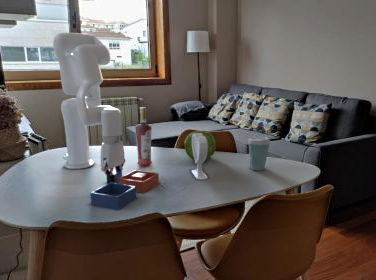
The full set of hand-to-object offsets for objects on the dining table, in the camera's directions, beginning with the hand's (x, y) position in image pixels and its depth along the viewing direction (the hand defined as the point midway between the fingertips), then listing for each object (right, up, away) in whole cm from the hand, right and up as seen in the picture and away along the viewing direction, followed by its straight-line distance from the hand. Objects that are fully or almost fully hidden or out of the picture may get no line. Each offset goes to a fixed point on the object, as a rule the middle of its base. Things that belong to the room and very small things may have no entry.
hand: (114, 181), depth 148 cm
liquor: (+7, +5, +22) cm, 24 cm away
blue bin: (+6, -5, -18) cm, 20 cm away
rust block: (+11, -1, -4) cm, 12 cm away
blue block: (0, 0, 0) cm, 0 cm away
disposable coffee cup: (+61, +3, +23) cm, 65 cm away
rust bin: (+11, -2, -4) cm, 12 cm away
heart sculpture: (+34, +2, +12) cm, 36 cm away
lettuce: (+32, +8, +37) cm, 49 cm away
